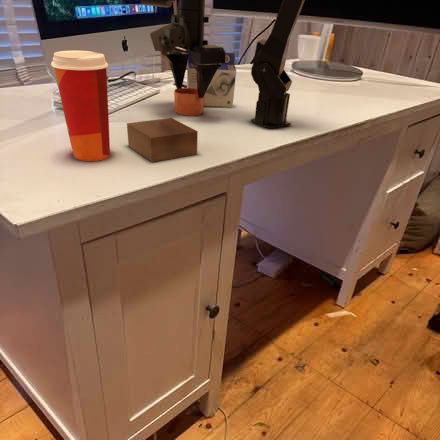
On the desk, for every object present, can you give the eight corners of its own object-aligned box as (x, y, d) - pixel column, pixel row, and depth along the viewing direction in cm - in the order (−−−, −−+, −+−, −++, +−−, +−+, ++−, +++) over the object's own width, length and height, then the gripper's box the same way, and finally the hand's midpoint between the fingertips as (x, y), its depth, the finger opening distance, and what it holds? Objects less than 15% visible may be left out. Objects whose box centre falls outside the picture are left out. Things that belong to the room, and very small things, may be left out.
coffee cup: (96, 143, 75) (85, 48, 66) (126, 155, 71) (118, 56, 62) (55, 154, 70) (36, 52, 61) (85, 167, 66) (70, 60, 57)
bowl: (193, 107, 99) (193, 87, 97) (209, 114, 95) (209, 93, 92) (169, 110, 96) (168, 89, 93) (184, 117, 92) (184, 95, 89)
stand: (171, 139, 79) (171, 117, 77) (197, 154, 74) (197, 131, 71) (128, 146, 75) (126, 123, 73) (151, 162, 69) (150, 138, 67)
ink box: (187, 107, 99) (188, 52, 92) (186, 104, 101) (186, 50, 94) (234, 107, 102) (238, 53, 95) (232, 105, 103) (235, 52, 96)
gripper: (133, 4, 86) (138, 87, 95) (179, 13, 74) (179, 106, 83) (179, 5, 91) (180, 83, 101) (230, 14, 79) (224, 101, 89)
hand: (189, 93), depth 93 cm, fingers open, 9 cm apart
